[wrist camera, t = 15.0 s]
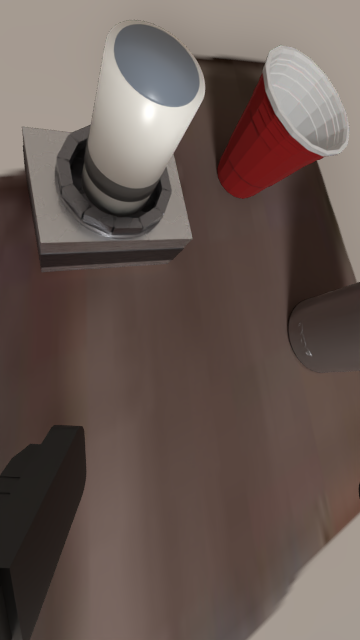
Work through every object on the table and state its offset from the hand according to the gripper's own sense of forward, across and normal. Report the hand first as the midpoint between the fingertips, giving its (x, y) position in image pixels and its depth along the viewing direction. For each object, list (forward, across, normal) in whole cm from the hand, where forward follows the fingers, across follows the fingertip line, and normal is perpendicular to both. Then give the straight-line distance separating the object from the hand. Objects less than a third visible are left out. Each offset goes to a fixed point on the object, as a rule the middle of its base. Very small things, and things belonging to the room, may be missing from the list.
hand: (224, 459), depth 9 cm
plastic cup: (+35, -5, -11) cm, 37 cm away
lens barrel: (+19, +7, -8) cm, 22 cm away
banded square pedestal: (+24, +9, -5) cm, 26 cm away
